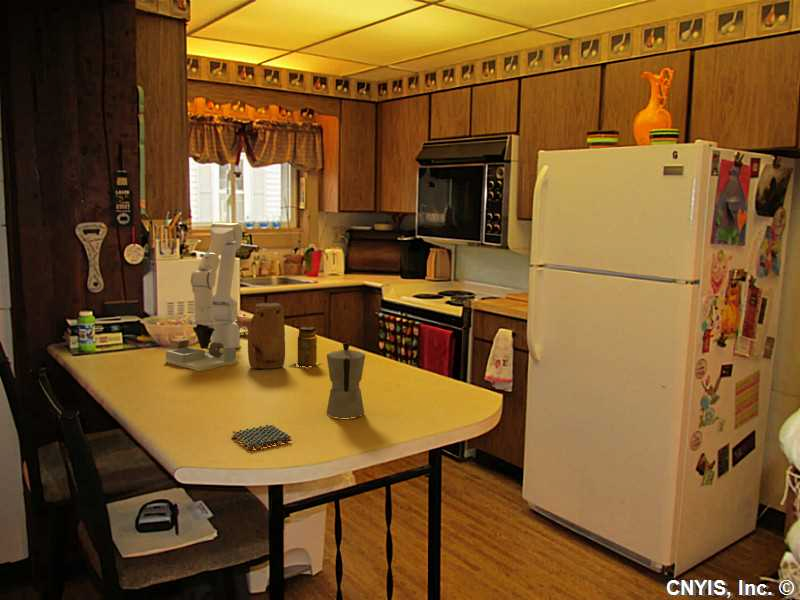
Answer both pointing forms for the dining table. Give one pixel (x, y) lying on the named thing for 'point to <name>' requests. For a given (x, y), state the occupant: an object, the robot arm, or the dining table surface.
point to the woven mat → (261, 437)
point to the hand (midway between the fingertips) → (204, 348)
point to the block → (267, 337)
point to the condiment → (307, 347)
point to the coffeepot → (345, 383)
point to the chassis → (201, 358)
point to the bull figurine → (243, 321)
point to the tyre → (213, 349)
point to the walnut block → (178, 343)
